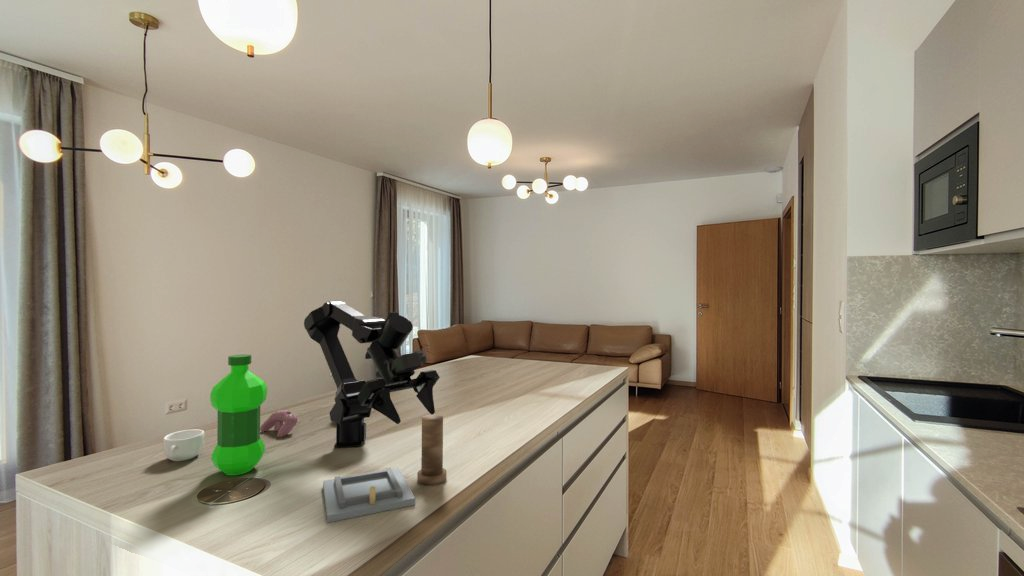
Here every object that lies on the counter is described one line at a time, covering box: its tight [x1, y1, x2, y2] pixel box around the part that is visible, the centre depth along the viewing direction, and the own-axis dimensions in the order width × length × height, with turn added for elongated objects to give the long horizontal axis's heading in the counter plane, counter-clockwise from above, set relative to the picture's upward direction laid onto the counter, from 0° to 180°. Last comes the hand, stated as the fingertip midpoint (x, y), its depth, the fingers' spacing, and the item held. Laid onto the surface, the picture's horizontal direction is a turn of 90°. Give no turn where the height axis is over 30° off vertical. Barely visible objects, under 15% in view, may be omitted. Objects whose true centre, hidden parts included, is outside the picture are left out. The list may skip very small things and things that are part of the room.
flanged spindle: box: [416, 413, 447, 487], centre depth 93 cm, size 6×6×13 cm
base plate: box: [322, 467, 416, 523], centre depth 86 cm, size 15×15×4 cm
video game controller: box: [260, 409, 298, 438], centre depth 122 cm, size 10×5×7 cm, turn 58°
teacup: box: [162, 428, 205, 462], centre depth 103 cm, size 10×8×5 cm
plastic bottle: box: [209, 353, 268, 476], centre depth 97 cm, size 10×10×25 cm
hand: (416, 418), depth 96 cm, fingers open, 9 cm apart
